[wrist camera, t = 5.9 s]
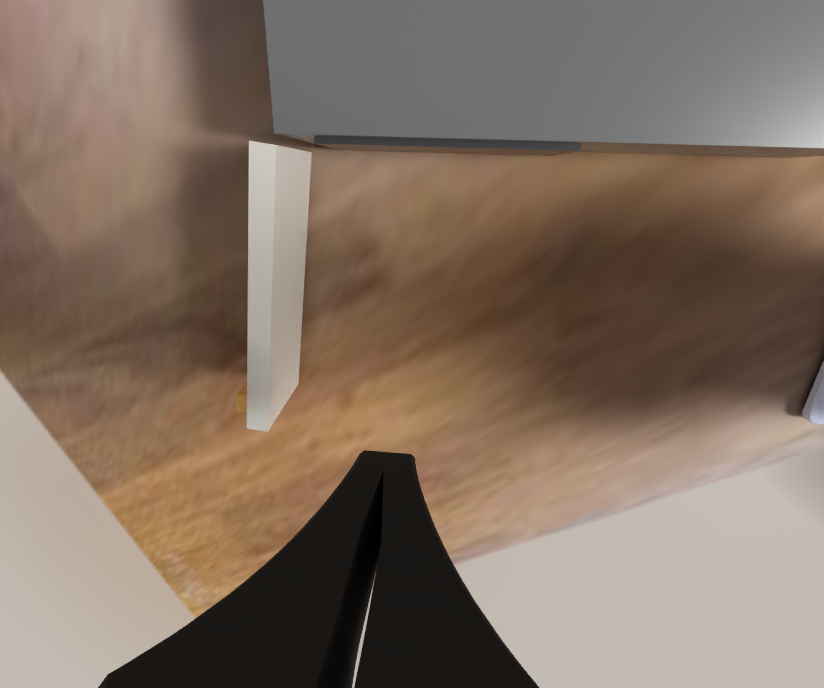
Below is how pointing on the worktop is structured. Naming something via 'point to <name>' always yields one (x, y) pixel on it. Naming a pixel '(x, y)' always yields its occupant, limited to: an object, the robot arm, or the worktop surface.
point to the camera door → (274, 278)
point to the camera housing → (550, 76)
